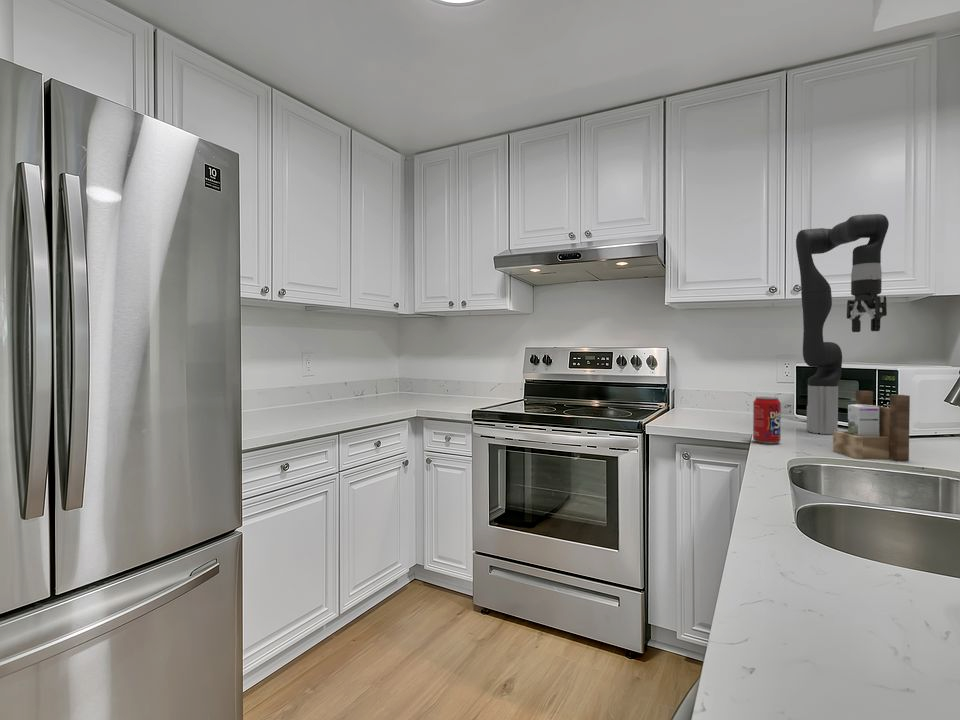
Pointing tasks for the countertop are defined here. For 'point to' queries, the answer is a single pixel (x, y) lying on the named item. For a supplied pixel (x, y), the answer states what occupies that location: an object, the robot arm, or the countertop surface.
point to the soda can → (766, 420)
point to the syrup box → (863, 420)
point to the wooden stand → (890, 432)
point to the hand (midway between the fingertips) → (865, 331)
